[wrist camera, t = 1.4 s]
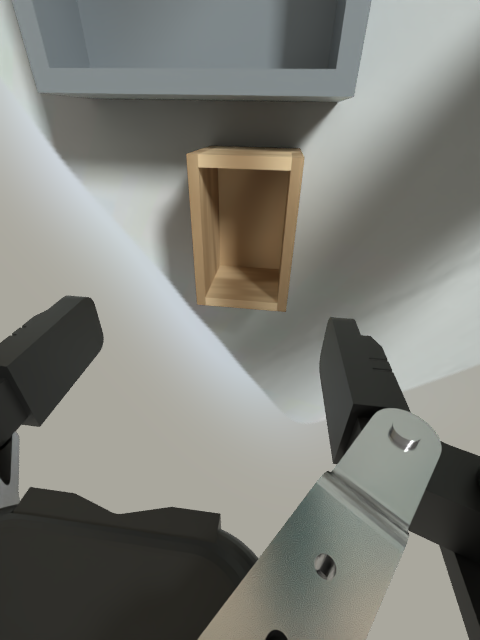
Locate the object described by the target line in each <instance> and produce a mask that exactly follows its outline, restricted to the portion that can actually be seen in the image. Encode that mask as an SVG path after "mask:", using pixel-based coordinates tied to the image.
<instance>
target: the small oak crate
mask: <svg viewBox="0 0 480 640" xmlns="http://www.w3.org/2000/svg"><path fill="white" fill-rule="evenodd" d="M186 157H187V171H188V185H189V199H190V213H191V227H192V241H193V255H194V268H195V282H196V296H197V305H210V306H222V307H234V308H246V309H258V310H270V311H282V312H286V306H287V298H288V290H289V281H290V273H291V265H292V257H293V248H294V240H295V232H296V223H297V215H298V207H299V199H300V190H301V182H302V174H303V165H304V156H303V154H302V152H301V149H300V148H271V147H238V146H208V147H205V148H202V149H199V150H196V151H193V152H190V153H187V154H186Z"/></svg>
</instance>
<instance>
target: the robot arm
mask: <svg viewBox="0 0 480 640" xmlns="http://www.w3.org/2000/svg"><path fill="white" fill-rule="evenodd" d="M102 345H103V332H102V328H101V325H100V321H99V318H98V314H97V311H96V307H95V304H94V302H93V300H92V299H91V298H89V297H77V296H65V297H63V298H62V299H61V300H59V301H58V302H57V303H56V304H54V305H53V306H52V307H51V308H49V309H48V310H46V311H44V312H42V313H40V314H38V315H36V316H34V317H33V318H31V319H30V320H29V321H28V322H26V323H25V324H24V325H23V326H22V328H19V329H17V330H16V331H15V332H14V333H12V336H9V337H7V338H6V339H5V340H3V341H2V342H1V343H0V640H366V638H367V636H368V633H369V631H370V628H371V626H372V624H373V622H374V619H375V617H376V614H377V612H378V610H379V607H380V605H381V603H382V600H383V598H384V595H385V593H386V591H387V589H388V586H389V584H390V582H391V579H392V577H393V575H394V572H395V570H396V568H397V565H398V563H399V561H400V558H401V556H402V553H403V551H404V549H405V546H406V544H407V541H408V537H409V533H408V532H407V531H408V530H409V531H411V532H413V533H415V534H417V535H419V536H422V537H424V538H426V539H428V540H430V541H432V542H434V543H436V544H439V545H440V549H441V552H442V555H443V558H444V561H445V564H446V567H447V570H448V574H449V577H450V580H451V583H452V586H453V590H454V593H455V596H456V599H457V602H458V605H459V608H460V612H461V615H462V618H463V621H464V624H465V627H466V631H467V634H468V637H469V640H480V456H478V455H475V454H472V453H469V452H467V451H464V450H461V449H458V448H456V447H453V446H450V445H448V444H445V443H443V442H442V441H440V439H439V437H438V435H437V434H436V432H435V431H434V430H433V429H432V427H431V426H430V425H429V424H428V423H427V422H425V421H424V420H423V419H421V418H420V417H418V416H416V415H414V414H412V413H411V412H410V410H409V407H408V405H407V403H406V401H405V398H404V396H403V394H402V391H401V389H400V387H399V385H398V382H397V380H396V378H395V376H394V373H393V372H392V369H391V366H390V364H389V362H387V357H386V355H385V353H384V351H383V348H382V347H381V346H380V345H379V344H378V343H377V342H376V341H375V340H374V339H373V338H372V337H371V336H362V335H360V332H359V329H358V327H357V324H356V321H355V320H354V319H345V318H333V317H330V318H329V320H328V323H327V328H326V332H325V337H324V341H323V346H322V350H321V355H320V367H319V368H320V378H321V385H322V392H323V399H324V405H325V412H326V419H327V426H328V433H329V439H330V446H331V453H332V460H333V464H337V465H336V467H335V468H334V469H333V470H332V472H329V471H327V472H325V473H324V474H323V475H322V476H321V477H320V479H319V480H318V481H317V482H316V484H315V485H314V486H313V488H312V489H311V490H310V491H309V493H308V494H307V495H306V497H305V498H304V499H303V501H302V502H301V503H300V505H299V506H298V507H297V509H296V510H295V511H294V513H293V514H292V515H291V517H290V518H289V519H288V521H287V522H286V523H285V525H284V526H283V527H282V529H281V530H280V531H279V532H278V534H277V535H276V536H275V538H274V539H273V540H272V542H271V543H270V544H269V546H268V547H267V548H266V550H265V551H264V552H263V554H262V555H261V556H260V558H258V557H257V556H256V555H255V554H254V553H253V552H252V551H251V550H250V549H249V548H248V547H247V546H246V545H245V544H244V543H243V542H242V541H240V540H239V539H237V538H236V537H234V536H233V535H231V534H229V533H228V532H225V531H224V530H222V529H221V520H220V519H221V518H220V514H218V513H211V512H204V511H197V510H190V509H182V508H175V507H168V508H161V509H154V510H147V511H139V512H133V513H125V514H115V513H112V512H110V511H108V510H106V509H104V508H102V507H100V506H98V505H96V504H94V503H92V502H90V501H89V500H87V499H85V498H83V497H81V496H79V495H77V494H74V493H68V492H61V491H54V490H47V489H40V488H33V487H30V488H29V490H28V491H27V492H26V494H25V495H24V497H23V498H22V499H21V501H20V498H19V492H18V484H19V435H18V433H17V432H16V430H17V429H18V428H19V427H20V425H30V426H38V427H40V426H41V424H42V423H43V422H44V421H45V419H46V418H47V417H48V416H49V415H50V413H51V412H52V411H53V410H54V408H55V407H56V406H57V404H58V403H59V402H60V401H61V400H62V398H63V397H64V396H65V394H66V393H67V392H68V391H69V390H70V388H71V387H72V386H73V384H74V383H75V382H76V381H77V379H78V378H79V377H80V375H81V374H82V373H83V372H84V371H85V369H86V368H87V367H88V366H89V364H90V363H91V362H92V361H93V359H94V358H95V357H96V356H97V354H98V353H99V352H100V350H101V348H102Z"/></svg>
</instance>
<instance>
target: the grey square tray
mask: <svg viewBox="0 0 480 640" xmlns="http://www.w3.org/2000/svg"><path fill="white" fill-rule="evenodd" d="M12 3H13V7H14V10H15V14H16V17H17V21H18V24H19V28H20V31H21V35H22V38H23V42H24V45H25V49H26V52H27V56H28V59H29V63H30V66H31V70H32V73H33V77H34V80H35V84H36V87H37V91H38V93H46V94H55V95H64V96H73V97H82V98H100V99H168V100H236V101H303V102H340V101H343V100H346V99H349V98H352V97H354V93H355V87H356V82H357V76H358V71H359V66H360V60H361V55H362V49H363V44H364V38H365V33H366V27H367V22H368V16H369V11H370V5H371V0H12Z"/></svg>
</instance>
